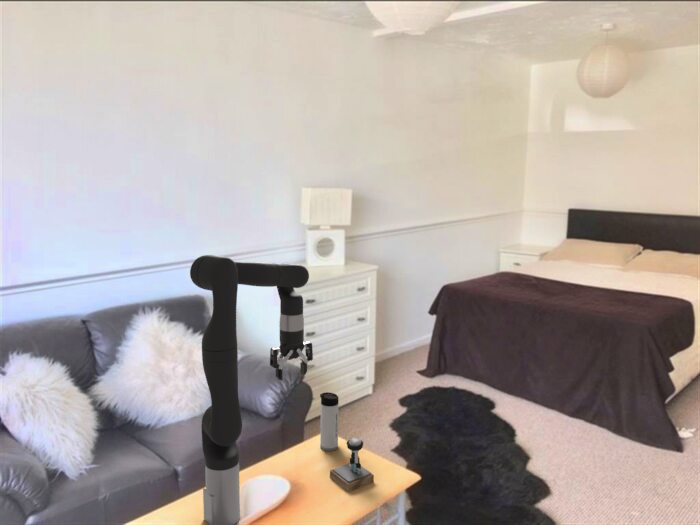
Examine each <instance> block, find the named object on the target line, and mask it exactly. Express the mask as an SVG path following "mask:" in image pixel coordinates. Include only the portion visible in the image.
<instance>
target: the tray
mask: <svg viewBox="0 0 700 525" xmlns="http://www.w3.org/2000/svg"><path fill="white" fill-rule="evenodd" d="M349 464H350V462H349V463H347V464H346V463H345V464H344V465H341V466H338V467H334V468H332V469H330V470H329V478H330V479H331V480H332V481H334V483H336V484H337V485H339V486H340V487H341V488H342V489H344V490H345V491H346V492H347V493H349V492H351V491H355V490H356V489H359V488H362V487H364V486H367V485H370V484H372V483H374V480H375V479H374V478H375V477H374V474H373V473H372V472H370V471H369V470H368V469H366V468H365V467H364V466H362V465H361V469H360V474H358V473H357V472H356V473H354V471H353V470H352V469H351V470H350V466H349Z"/></svg>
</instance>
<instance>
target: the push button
mask: <svg viewBox="0 0 700 525" xmlns="http://www.w3.org/2000/svg"><path fill="white" fill-rule="evenodd" d="M363 446H364V441H362V440H361V438H359V437H355V436H354V437H353V436H352V437H350V438H349V440H347V442H346V448H347V449H348V450H350V451H351V455H350V458H349V463H350V464H349V463H348V464H349V466H350V470H351V469H352V470H353V471H354V473H356V472H357V473H358V474H360V469H361V466H362V465H361V462H360V456H359V451H360V450H362V449H363Z"/></svg>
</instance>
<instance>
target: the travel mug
mask: <svg viewBox="0 0 700 525" xmlns="http://www.w3.org/2000/svg"><path fill="white" fill-rule="evenodd" d="M319 397H320V443H319V444H320V447H319V448H320V449H321V450H323V451H324V452H326V451H327V452H332V451H335V450H337V449H338V447H339V405H340V404H339V395H337V394H336V393H334V392H323V393H320V394H319Z"/></svg>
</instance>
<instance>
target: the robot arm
mask: <svg viewBox="0 0 700 525" xmlns="http://www.w3.org/2000/svg"><path fill="white" fill-rule="evenodd" d="M189 274H190V276H189V277H190V279H191V281H192V284H194V285H195V286H196V287H198V288H200V289H202V290H205V291H211V293H212V302H213V303H212V307H213V308H212V313H211V317H210V320H209V322H208V323H207V326H206V328H205V330H204V332H203V335H202V339H201V359H202V368H203V372H204V375H205V380H206V383H207V387H208V390H209V394H210V401H211V405H209V407H207V408H206V410H205V411H204V413H203V415H202V417H201V442H202V443H201V444H202V453H203V456H204V466H205V467H204V468H205V469H204V470H205V487H203V488H202V495H203V496H202V498H203V499H202V500H203V519H204V521H205V523H207V525H236V524H237V523H238V522H239V520H240V519H241V503H240V501H241V500H240V498H241V497H240V496H241V493H240V490H241V489H240V488H241V487H240V452H239V448H238V446H237V443H236V442H237V441H238V440H239V438H240V436H241V435H242V434H241V433H242V429H243V420H242V413H241V406H240V399H239V370H238V369H239V368H238V365H239V364H238V363H239V362H238V359H239V357H238V354H239V353H238V336H237V335H238V334H237V304H238V302H237V301H238V285H241V286H252V287H262V288H263V287H268V288H269V287H270V288H271V287H273V288H274V287H276V289H277V293H278V297H279V302H280V312H279V313H280V314H279V344H280V345H279V347H277V348H275V347H271V348H270V351H269V354H270V355H269V366H270V367H272V368H273V369H275V377H276V379H277V380H279V381H282V380H283V367H284V365H285V364H287V362H288V361H291V360H293V359H294V360H295V359H299V360H300V361H301V362H300V374H301V375H303V376H305V375H306V374H307V372H308V363H309V362H310V361H313V360H314V357H313V356H314V353H313V343H312V342H311V341H308V340H306V341H305V336H304V335H305V331H304V330H305V328H304V327H305V321H304V320H305V318H304V298H303V295H301V294H300V293H298V292H296V291H295V289H300V288H304V286H306V284H307V283H308V282H309V280H310V279H309V278H310V274H309V270H308V268H306V266H304V265H301V264H297V263H288V262H282V263H275V262H263V261H260V262H259V261H258V262H255V261H253V262H249V261H244V262H243V261H242V262H241V261H234V260H233V259H232V258H230V257H227V256H220V255H216V254H215V255H213V254H204V255H201V256H199V257H197V258H196V259H195V260H193V262H192V264H191V266H190V271H189ZM304 341H305V342H304ZM304 349H305V354H304V352H303V350H304ZM279 353H280V354H279Z"/></svg>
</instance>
